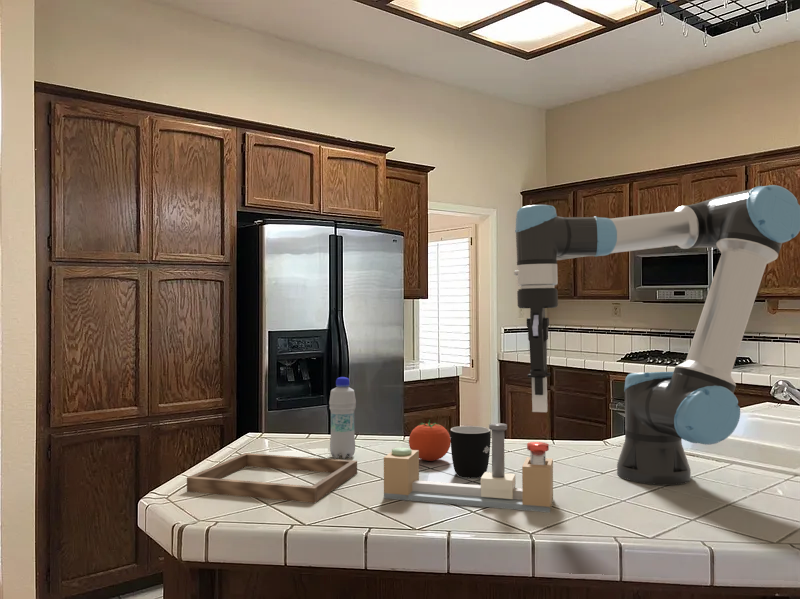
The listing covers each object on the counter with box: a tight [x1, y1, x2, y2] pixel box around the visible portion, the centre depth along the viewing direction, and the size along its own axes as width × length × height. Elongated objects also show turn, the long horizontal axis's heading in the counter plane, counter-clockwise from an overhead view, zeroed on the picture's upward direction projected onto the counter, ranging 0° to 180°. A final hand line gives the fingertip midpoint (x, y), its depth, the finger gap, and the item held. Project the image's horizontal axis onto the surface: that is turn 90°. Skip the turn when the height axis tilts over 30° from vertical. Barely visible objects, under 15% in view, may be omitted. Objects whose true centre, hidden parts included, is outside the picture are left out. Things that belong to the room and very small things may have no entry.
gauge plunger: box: [526, 441, 550, 465], centre depth 126 cm, size 4×4×9 cm
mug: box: [449, 425, 492, 479], centre depth 150 cm, size 12×9×10 cm
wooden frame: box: [186, 452, 358, 504], centre depth 143 cm, size 28×23×3 cm
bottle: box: [328, 376, 357, 460], centre depth 166 cm, size 7×7×20 cm
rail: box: [383, 447, 554, 513], centre depth 130 cm, size 32×8×9 cm, turn 73°
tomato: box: [408, 419, 451, 462], centre depth 162 cm, size 10×10×10 cm
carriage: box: [480, 422, 517, 499], centre depth 128 cm, size 6×5×14 cm
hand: (539, 411), depth 126 cm, fingers closed
